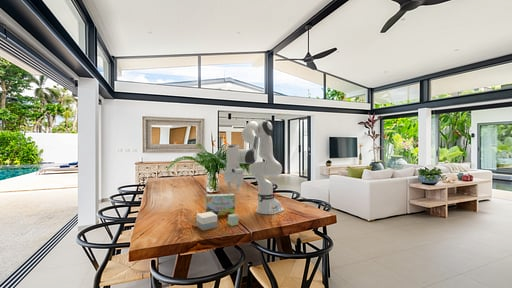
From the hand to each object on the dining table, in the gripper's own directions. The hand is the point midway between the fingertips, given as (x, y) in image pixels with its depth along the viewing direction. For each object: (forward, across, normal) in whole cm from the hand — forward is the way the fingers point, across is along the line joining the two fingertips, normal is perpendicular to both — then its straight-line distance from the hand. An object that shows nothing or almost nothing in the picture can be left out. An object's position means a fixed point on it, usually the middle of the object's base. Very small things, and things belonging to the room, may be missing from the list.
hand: (233, 189), depth 158 cm
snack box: (+23, -24, +3) cm, 33 cm away
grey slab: (+23, -6, -16) cm, 29 cm away
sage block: (+23, 0, 0) cm, 23 cm away
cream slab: (+19, -6, -16) cm, 26 cm away
